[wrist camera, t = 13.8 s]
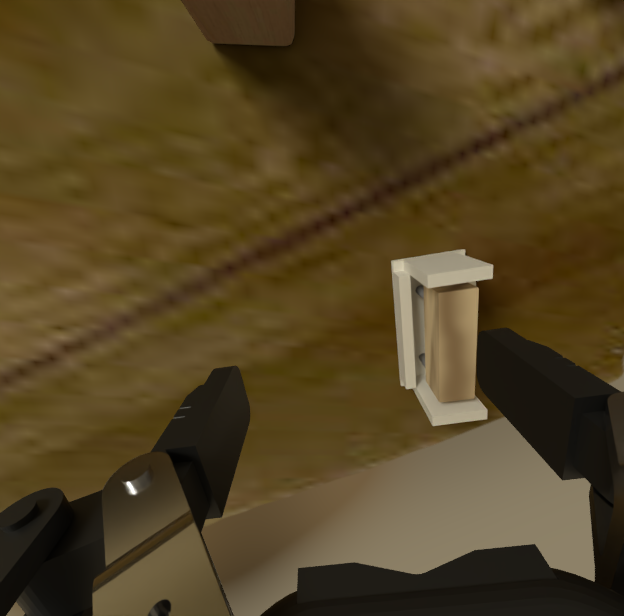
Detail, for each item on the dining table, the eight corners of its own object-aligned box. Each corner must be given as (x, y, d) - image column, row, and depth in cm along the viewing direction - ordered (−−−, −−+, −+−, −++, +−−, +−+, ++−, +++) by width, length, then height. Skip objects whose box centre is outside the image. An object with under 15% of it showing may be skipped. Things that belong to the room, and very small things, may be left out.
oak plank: (458, 277, 38) (478, 287, 34) (456, 377, 43) (474, 398, 39) (423, 282, 39) (438, 293, 34) (425, 380, 44) (439, 402, 39)
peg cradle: (463, 249, 41) (507, 262, 32) (462, 375, 48) (498, 417, 39) (391, 260, 42) (413, 277, 33) (400, 384, 49) (421, 427, 39)
